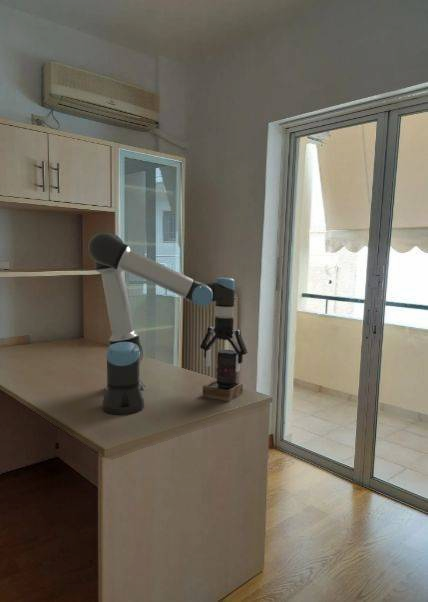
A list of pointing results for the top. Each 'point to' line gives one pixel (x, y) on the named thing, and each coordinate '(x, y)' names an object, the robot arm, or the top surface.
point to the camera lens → (226, 369)
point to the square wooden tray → (222, 391)
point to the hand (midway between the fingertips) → (222, 368)
